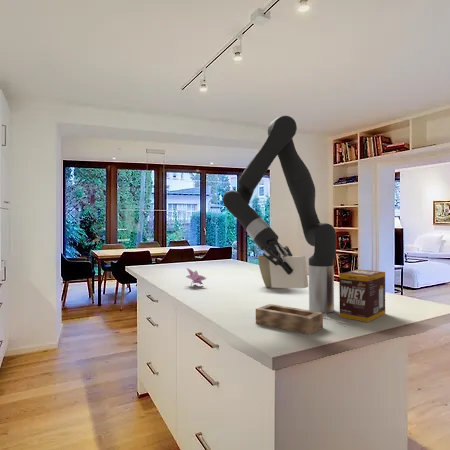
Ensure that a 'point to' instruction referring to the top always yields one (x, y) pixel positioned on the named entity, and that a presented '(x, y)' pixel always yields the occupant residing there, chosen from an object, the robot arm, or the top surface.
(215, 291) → the top surface
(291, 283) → the white rectangular block
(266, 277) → the plant pot
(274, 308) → the walnut box
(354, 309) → the supplement box
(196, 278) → the lily
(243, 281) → the top surface
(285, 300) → the top surface
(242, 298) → the top surface
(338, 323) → the scissors
